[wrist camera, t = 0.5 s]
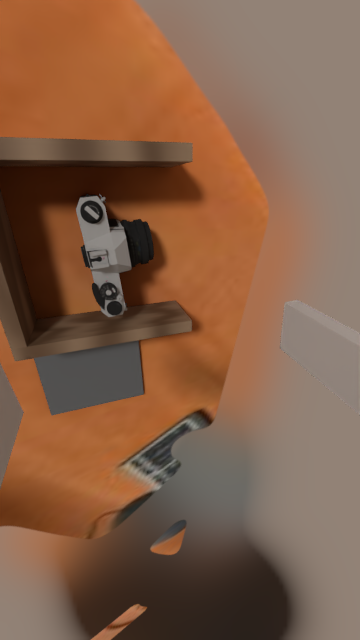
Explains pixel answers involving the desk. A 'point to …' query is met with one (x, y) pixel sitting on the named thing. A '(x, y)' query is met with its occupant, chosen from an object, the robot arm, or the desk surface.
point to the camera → (111, 250)
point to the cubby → (92, 327)
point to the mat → (91, 376)
